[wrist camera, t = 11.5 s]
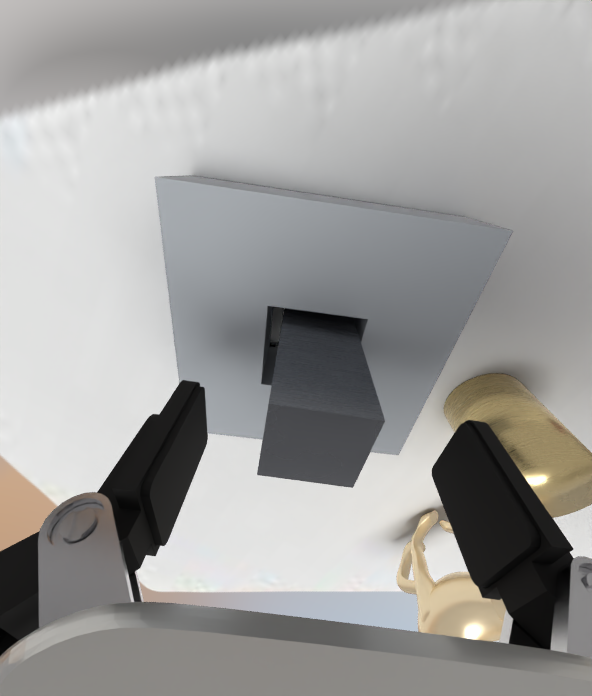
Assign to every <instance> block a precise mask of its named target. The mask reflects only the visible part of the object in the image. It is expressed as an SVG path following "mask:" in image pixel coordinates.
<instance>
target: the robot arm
mask: <svg viewBox="0 0 592 696" xmlns="http://www.w3.org/2000/svg"><path fill="white" fill-rule="evenodd" d="M207 438H208V434H207V417H206V400H205V388H204V387H200V383H199V382H194V381H187V380H182V381H181V382H180V384H179V385H178V387H177V388H176V390H175V391H174V393H173V394H172V396H171V398H170V399H169V401H168V402H167V404H166V405H165V407H164V408H163V410H162V412H161V413H160V415H158V414H152V415H151V416H150V417H149V418H148V419H147V420H146V422H145V423H144V425H143V426H142V428H141V429H140V431H139V432H138V433H137V435H136V436H135V438H134V439H133V441H132V442H131V444H130V445H129V447H128V448H127V450H126V451H125V452H124V454H123V455H122V457H121V458H120V460H119V461H118V463H117V464H116V466H115V467H114V469H113V470H112V472H111V473H110V474H109V476H108V477H107V479H106V480H105V482H104V483H103V485H102V486H101V488H100V489H99V491H98V492H97V493H96V492H90V493H83V494H80V495H77V496H74V497H72V498H70V499H68V500H66V501H65V502H63V503H62V504H60V505H59V506H58V507H57V508H56V509H54V510H53V511H52V512H51V514H50V515H49V516H48V517H47V518H46V519H45V521H44V523H43V525H42V527H41V528H40V531H39V532H37V533H35V534H33V535H31V536H30V537H27V538H26V539H24V540H22V541H20V542H18V543H16V544H14V545H12V546H10V547H8V548H6V549H4V550H3V551H0V696H592V559H591V558H588V557H579V556H578V557H576V558H573V557H572V555H571V554H570V551H572V550H573V548H572V546H571V545H570V543H569V542H568V540H567V539H566V537H565V536H564V534H563V533H562V532H561V530H560V529H559V527H558V526H557V524H556V523H555V521H554V520H553V518H552V517H551V515H550V514H549V512H548V511H547V510H546V508H545V507H544V505H543V504H542V502H541V501H540V499H539V498H538V496H537V495H536V493H535V492H534V491H533V489H532V488H531V486H530V485H529V483H528V482H527V480H526V479H525V477H524V476H523V474H522V473H521V471H520V470H519V469H518V467H517V466H516V464H515V463H514V461H513V460H512V458H511V457H510V455H509V454H508V452H507V451H506V450H505V448H504V447H503V445H502V444H501V442H500V441H499V439H498V438H497V436H496V435H495V433H494V432H493V430H492V429H491V428H490V426H489V425H488V424H487V423H485V422H480V421H473V420H467V421H465V422H464V423H462V424H460V425H459V427H458V428H457V430H456V432H455V433H454V435H453V436H452V438H451V439H450V441H449V443H448V444H447V446H446V447H445V449H444V450H443V452H442V454H441V455H440V457H439V458H438V460H437V461H436V463H435V464H434V466H433V468H432V477H433V480H434V483H435V485H436V488H437V490H438V493H439V496H440V498H441V501H442V504H443V506H444V509H445V511H446V514H447V517H448V519H449V522H450V525H451V527H452V530H453V532H454V535H455V538H456V540H457V543H458V545H459V548H460V551H461V553H462V556H463V559H464V561H465V564H466V566H467V569H468V572H469V574H470V577H471V579H472V581H473V583H474V584H475V585H476V586H478V588H479V591H480V593H481V596H482V598H487V599H495V600H500V599H502V600H503V603H504V605H505V607H506V612H505V616H504V621H503V626H502V631H501V636H500V641H499V642H491V641H484V640H476V639H468V638H461V637H453V636H445V635H438V634H430V633H422V632H413V631H406V630H398V629H390V628H382V627H374V626H366V625H358V624H350V623H342V622H334V621H326V620H318V619H310V618H302V617H293V616H285V615H276V614H268V613H259V612H252V611H243V610H235V609H226V608H216V607H205V606H195V605H186V604H176V603H156V602H144V601H143V597H142V593H141V588H140V584H139V580H138V575H137V571H136V570H138V569H139V568H140V567H141V565H142V563H143V560H144V558H145V556H146V555H150V556H156V554H157V551H158V549H159V547H160V546H165V545H166V543H167V541H168V539H169V537H170V534H171V532H172V529H173V527H174V524H175V522H176V519H177V517H178V514H179V512H180V509H181V507H182V504H183V502H184V499H185V497H186V494H187V492H188V489H189V487H190V484H191V482H192V479H193V477H194V474H195V472H196V469H197V467H198V464H199V462H200V459H201V457H202V455H203V452H204V450H205V447H206V444H207Z"/></svg>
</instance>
